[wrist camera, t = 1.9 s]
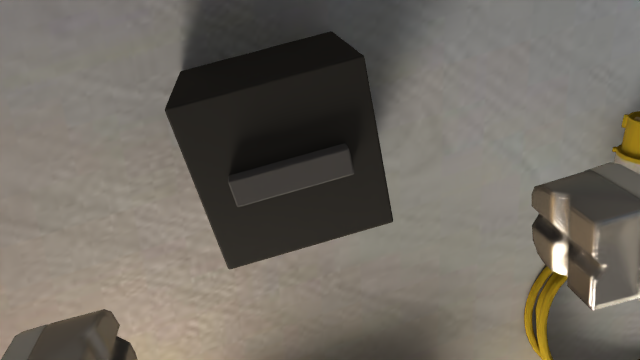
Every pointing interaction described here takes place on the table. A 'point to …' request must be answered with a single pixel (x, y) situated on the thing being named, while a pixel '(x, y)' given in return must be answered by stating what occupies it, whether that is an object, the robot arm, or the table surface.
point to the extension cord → (633, 154)
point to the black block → (282, 147)
